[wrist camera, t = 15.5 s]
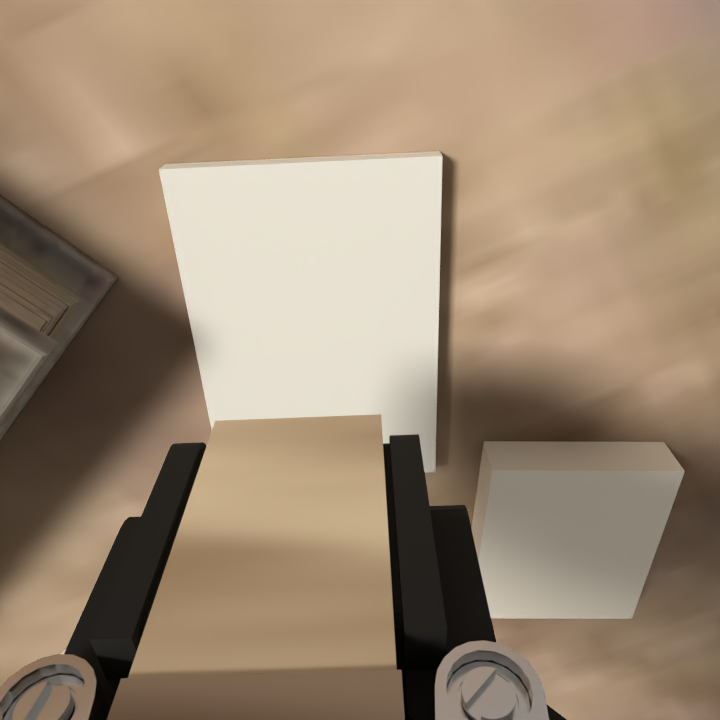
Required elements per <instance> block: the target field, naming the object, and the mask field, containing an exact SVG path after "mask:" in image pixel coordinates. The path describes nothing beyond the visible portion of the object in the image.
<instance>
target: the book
mask: <svg viewBox="0 0 720 720" xmlns="http://www.w3.org/2000/svg"><path fill="white" fill-rule="evenodd" d="M117 278H118V277H117V276H116V275H115V274H113V273H112V272H110V271H109V270H107V269H106V268H104V267H103V266H102V265H100V264H99V263H97V262H96V261H94V260H93V259H91V258H90V257H88V256H87V255H86V254H84V253H83V252H81V251H80V250H78V249H77V248H75V247H74V246H73V245H71V244H70V243H68V242H67V241H65V240H64V239H62V238H61V237H60V236H58V235H57V234H55V233H54V232H52V231H51V230H49V229H48V228H47V227H45V226H44V225H42V224H41V223H39V222H38V221H36V220H35V219H33V218H32V217H31V216H29V215H28V214H26V213H25V212H23V211H22V210H20V209H19V208H18V207H16V206H15V205H13V204H12V203H10V202H9V201H7V200H6V199H5V198H3V197H2V196H0V440H1V439H2V437H3V436H4V434H5V433H6V432H7V430H8V429H9V428H10V426H11V425H12V423H13V422H14V421H15V419H16V418H17V416H18V415H19V414H20V412H21V411H22V410H23V408H24V407H25V405H26V404H27V403H28V401H29V400H30V398H31V397H32V396H33V394H34V393H35V392H36V390H37V389H38V387H39V386H40V385H41V383H42V382H43V380H44V379H45V378H46V376H47V375H48V373H49V372H50V371H51V369H52V368H53V367H54V365H55V364H56V362H57V361H58V360H59V358H60V357H61V355H62V354H63V353H64V351H65V350H66V349H67V347H68V346H69V344H70V343H71V342H72V340H73V339H74V337H75V336H76V335H77V333H78V332H79V331H80V329H81V328H82V326H83V325H84V324H85V322H86V321H87V319H88V318H89V317H90V315H91V314H92V313H93V311H94V310H95V308H96V307H97V306H98V304H99V303H100V301H101V300H102V299H103V297H104V296H105V294H106V293H107V292H108V290H109V289H110V288H111V286H112V285H113V283H114V282H115V281H116V279H117Z"/></svg>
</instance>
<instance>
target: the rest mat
mask: <svg viewBox="0 0 720 720" xmlns="http://www.w3.org/2000/svg"><path fill="white" fill-rule="evenodd" d="M159 173H160V178H161V183H162V187H163V192H164V197H165V202H166V207H167V212H168V217H169V222H170V227H171V232H172V237H173V242H174V247H175V251H176V256H177V261H178V266H179V271H180V276H181V281H182V286H183V291H184V296H185V301H186V306H187V311H188V315H189V320H190V325H191V330H192V335H193V340H194V345H195V350H196V355H197V360H198V365H199V370H200V375H201V379H202V384H203V389H204V394H205V399H206V404H207V409H208V414H209V419H210V424H211V429H213V426H214V423H215V421H220V420H247V419H273V418H299V417H325V416H352V415H378V414H381V419H382V436H383V444H384V443H389V436H390V435H414V434H419V438H420V445H421V452H422V459H423V466H424V472H435V461H436V418H437V374H438V330H439V287H440V243H441V200H442V154H441V153H440V151H431V152H410V153H388V154H367V155H346V156H325V157H304V158H283V159H262V160H241V161H220V162H199V163H178V164H165V165H164V166H162V167H161V168H160V169H159Z"/></svg>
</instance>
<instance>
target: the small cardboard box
mask: <svg viewBox="0 0 720 720" xmlns="http://www.w3.org/2000/svg"><path fill="white" fill-rule="evenodd" d="M107 720H405V714H404V700H403V685H402V670H397V665H396V649H395V632H394V616H393V600H392V583H391V567H390V550H389V534H388V518H387V501H386V485H385V469H384V452H383V436H382V419H381V414H378V415H352V416H325V417H299V418H273V419H247V420H220V421H215V423H214V426H213V429H212V432H211V435H210V438H209V441H208V443H207V446H206V449H205V452H204V455H203V458H202V461H201V464H200V467H199V470H198V473H197V476H196V479H195V482H194V485H193V488H192V491H191V493H190V496H189V499H188V502H187V505H186V508H185V511H184V514H183V517H182V520H181V523H180V526H179V529H178V532H177V535H176V538H175V540H174V543H173V546H172V549H171V552H170V555H169V558H168V561H167V564H166V567H165V570H164V573H163V576H162V579H161V582H160V585H159V588H158V590H157V593H156V596H155V599H154V602H153V605H152V608H151V611H150V614H149V617H148V620H147V623H146V626H145V629H144V632H143V635H142V637H141V640H140V643H139V646H138V649H137V652H136V655H135V658H134V661H133V664H132V667H131V670H130V673H129V676H128V678H121V680H120V683H119V686H118V689H117V692H116V695H115V697H114V700H113V703H112V706H111V709H110V712H109V715H108V717H107Z"/></svg>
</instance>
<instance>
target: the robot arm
mask: <svg viewBox="0 0 720 720" xmlns="http://www.w3.org/2000/svg"><path fill="white" fill-rule="evenodd" d="M205 449H206V445H205V443H180V444H173V445H172V446H171V447H170V449H169V452H168V454H167V456H166V459H165V461H164V464H163V466H162V468H161V471H160V473H159V476H158V478H157V480H156V483H155V485H154V487H153V490H152V492H151V495H150V497H149V499H148V502H147V504H146V507H145V509H144V511H143V514H142V516H141V517H129V518H128V519H127V520H125V521H124V523H123V525H122V527H121V528H120V531H119V533H118V535H117V537H116V539H115V542H114V544H113V546H112V548H111V551H110V553H109V555H108V557H107V559H106V562H105V564H104V566H103V568H102V571H101V573H100V575H99V577H98V579H97V582H96V584H95V586H94V588H93V591H92V593H91V595H90V597H89V600H88V602H87V604H86V606H85V608H84V611H83V613H82V615H81V617H80V620H79V622H78V624H77V626H76V628H75V631H74V633H73V635H72V637H71V640H70V642H69V644H68V646H67V648H66V651H65V653H64V654H57V655H53V656H48V657H44V658H41V659H39V660H37V661H35V662H33V663H31V664H28V665H26V666H24V667H23V668H22V669H20V670H19V671H18V672H16V673H15V674H14V675H12V676H11V677H10V678H8V679H7V681H6V682H5V683H4V684H3V685H2V686H1V687H0V720H107V717H108V715H109V712H110V709H111V706H112V703H113V700H114V697H115V695H116V692H117V689H118V686H119V683H120V680H121V678H128V676H129V673H130V670H131V667H132V664H133V661H134V658H135V655H136V652H137V649H138V646H139V643H140V640H141V637H142V635H143V632H144V629H145V626H146V623H147V620H148V617H149V614H150V611H151V608H152V605H153V602H154V599H155V596H156V593H157V590H158V588H159V585H160V582H161V579H162V576H163V573H164V570H165V567H166V564H167V561H168V558H169V555H170V552H171V549H172V546H173V543H174V540H175V538H176V535H177V532H178V529H179V526H180V523H181V520H182V517H183V514H184V511H185V508H186V505H187V502H188V499H189V496H190V493H191V491H192V488H193V485H194V482H195V479H196V476H197V473H198V470H199V467H200V464H201V461H202V458H203V455H204V452H205ZM383 452H384V469H385V485H386V501H387V518H388V534H389V550H390V567H391V583H392V600H393V616H394V632H395V649H396V665H397V670H402V685H403V700H404V714H405V720H566V719H565V718H564V717H562V716H561V715H560V714H558V713H557V712H556V711H554V710H553V709H552V708H550V707H549V706H548V705H546V699H545V693H544V690H543V687H542V684H541V681H540V678H539V676H538V674H537V673H536V671H535V670H534V668H533V667H532V666H531V664H530V663H529V662H528V661H527V660H526V659H525V658H524V657H523V656H521V655H520V654H519V653H518V652H517V651H515V650H513V649H511V648H509V647H507V646H505V645H503V644H501V643H496V639H495V635H494V630H493V625H492V621H491V616H490V612H489V607H488V603H487V598H486V594H485V589H484V584H483V580H482V575H481V571H480V566H479V562H478V557H477V552H476V548H475V543H474V539H473V534H472V530H471V525H470V520H469V516H468V512H467V508H466V507H465V505H454V506H429V500H428V493H427V486H426V479H425V472H424V466H423V459H422V452H421V445H420V438H419V434H414V435H390V436H389V443H384V444H383Z"/></svg>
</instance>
